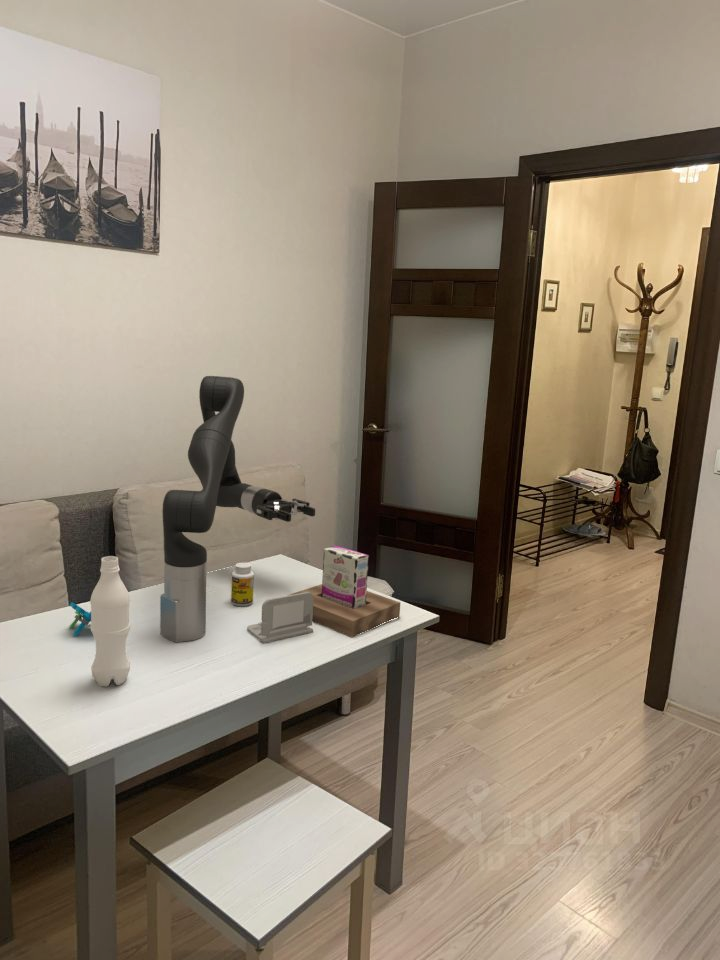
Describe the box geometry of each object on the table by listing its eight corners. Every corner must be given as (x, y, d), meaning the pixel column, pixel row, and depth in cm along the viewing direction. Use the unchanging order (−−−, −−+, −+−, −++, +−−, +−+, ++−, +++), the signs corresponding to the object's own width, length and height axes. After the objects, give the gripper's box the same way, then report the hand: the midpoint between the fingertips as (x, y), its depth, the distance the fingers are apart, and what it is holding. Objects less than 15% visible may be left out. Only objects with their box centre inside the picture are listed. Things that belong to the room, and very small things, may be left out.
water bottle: (93, 691, 139) (90, 565, 134) (90, 675, 146) (88, 554, 141) (132, 686, 142) (131, 562, 137) (128, 670, 149) (127, 551, 144)
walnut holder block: (352, 637, 171) (352, 621, 170) (286, 610, 185) (286, 595, 184) (399, 617, 185) (400, 602, 184) (334, 593, 198) (335, 579, 198)
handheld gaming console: (293, 619, 180) (294, 580, 178) (313, 633, 173) (315, 592, 171) (244, 629, 172) (245, 589, 170) (263, 644, 165) (264, 602, 163)
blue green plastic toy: (117, 629, 164) (82, 604, 159) (99, 652, 162) (64, 627, 157) (99, 619, 172) (66, 595, 167) (82, 640, 170) (48, 617, 165)
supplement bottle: (227, 605, 186) (228, 566, 184) (236, 597, 191) (237, 560, 189) (247, 608, 185) (248, 569, 183) (256, 601, 190) (257, 563, 188)
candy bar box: (366, 618, 183) (370, 554, 180) (352, 623, 179) (356, 558, 176) (333, 605, 190) (336, 544, 187) (319, 610, 186) (322, 548, 183)
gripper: (241, 492, 194) (282, 505, 184) (281, 485, 205) (322, 497, 194) (240, 519, 196) (281, 534, 186) (280, 511, 207) (321, 524, 196)
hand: (302, 515), depth 190 cm, fingers open, 8 cm apart
